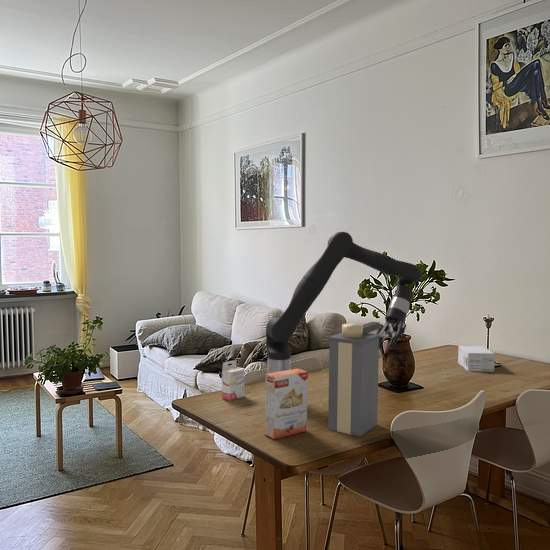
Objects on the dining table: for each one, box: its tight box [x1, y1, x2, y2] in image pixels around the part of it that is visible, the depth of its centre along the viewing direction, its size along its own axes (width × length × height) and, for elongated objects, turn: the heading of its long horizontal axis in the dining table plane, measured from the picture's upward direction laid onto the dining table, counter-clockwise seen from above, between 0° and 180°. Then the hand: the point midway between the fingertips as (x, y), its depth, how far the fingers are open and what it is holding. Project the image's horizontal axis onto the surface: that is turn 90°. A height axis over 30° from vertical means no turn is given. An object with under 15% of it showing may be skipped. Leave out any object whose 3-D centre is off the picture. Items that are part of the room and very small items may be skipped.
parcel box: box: [327, 332, 380, 437], centre depth 196 cm, size 15×13×32 cm
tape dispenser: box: [341, 321, 381, 339], centre depth 200 cm, size 24×7×4 cm, turn 146°
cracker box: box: [264, 368, 309, 440], centre depth 190 cm, size 14×6×21 cm, turn 126°
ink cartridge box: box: [221, 359, 246, 402], centre depth 230 cm, size 9×5×15 cm, turn 141°
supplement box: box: [457, 345, 496, 372], centre depth 285 cm, size 17×13×9 cm
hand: (384, 348), depth 219 cm, fingers open, 8 cm apart
